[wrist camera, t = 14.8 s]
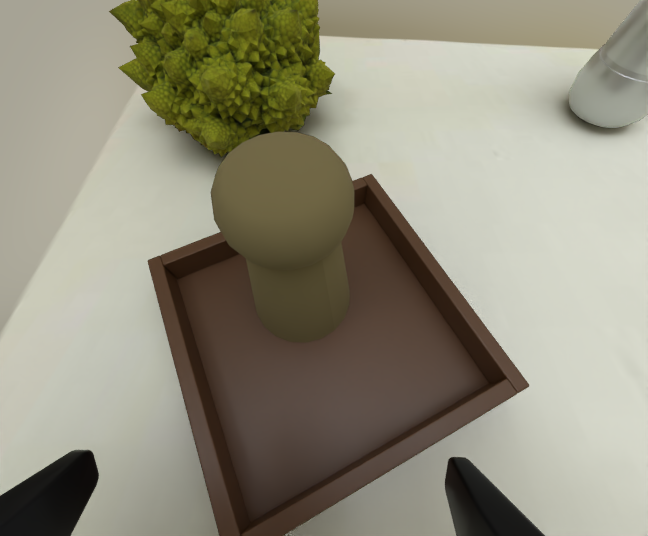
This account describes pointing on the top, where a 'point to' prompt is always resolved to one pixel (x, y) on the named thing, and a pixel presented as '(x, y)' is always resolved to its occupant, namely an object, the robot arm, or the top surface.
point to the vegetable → (227, 65)
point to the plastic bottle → (616, 76)
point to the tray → (324, 372)
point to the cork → (289, 229)
